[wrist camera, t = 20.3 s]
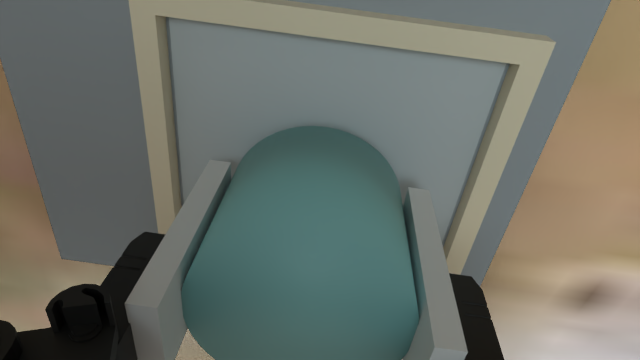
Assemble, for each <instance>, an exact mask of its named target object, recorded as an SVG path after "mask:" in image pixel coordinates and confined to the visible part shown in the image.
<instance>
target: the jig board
mask: <svg viewBox="0 0 640 360" xmlns="http://www.w3.org/2000/svg"><path fill="white" fill-rule="evenodd" d="M610 1H611V0H0V59H1V62H2V65H3V69H4V72H5V75H6V78H7V82H8V85H9V88H10V92H11V95H12V98H13V101H14V105H15V108H16V111H17V114H18V118H19V121H20V124H21V128H22V131H23V134H24V137H25V141H26V144H27V147H28V151H29V154H30V157H31V160H32V164H33V167H34V170H35V174H36V177H37V180H38V183H39V187H40V190H41V193H42V196H43V200H44V203H45V206H46V210H47V213H48V216H49V219H50V223H51V226H52V229H53V233H54V236H55V239H56V242H57V246H58V249H59V252H60V256H61V259H67V260H74V261H81V262H88V263H95V264H103V265H110V266H115V264H116V262H117V261H118V259H119V258H120V257H121V256H122V253H123V252H124V251H125V249H126V248H127V246H128V245H129V243H130V242H131V241H132V240H134V239H135V238H136V237H138V236H139V235H141V234H142V233H143V232H152V233H159V234H166V233H167V231H168V229H169V228H170V226H171V224H172V223H173V221H174V219H175V218H176V216H177V214H178V213H179V211H180V209H181V208H182V206H183V204H184V203H185V201H186V199H187V197H188V196H189V194H190V192H191V191H192V189H193V187H194V186H195V184H196V182H197V181H198V179H199V177H200V176H201V174H202V172H203V171H204V169H205V167H206V166H207V164H208V162H209V160H217V161H224V162H231V180H232V177H233V175H234V173H235V171H236V169H237V167H238V165H239V163H240V162H241V160H242V158H243V157H244V156H245V154H246V153H247V152H248V151H249V150H250V149H251V148H252V147H253V146H254V145H256V144H257V143H258V142H259V141H261V140H263V139H264V138H266V137H267V136H270V135H272V134H274V133H276V132H279V131H282V130H285V129H289V128H295V127H300V126H321V127H329V128H334V129H339V130H342V131H345V132H348V133H350V134H353V135H355V136H357V137H359V138H361V139H362V140H364V141H366V142H367V143H369V144H370V145H372V146H373V147H374V148H375V149H376V150H378V151H379V152H380V153H381V154H382V155H383V157H384V158H385V159H386V160H387V161H388V163H389V164H390V166H391V167H392V169H393V171H394V173H395V175H396V177H397V179H398V183H399V186H400V192H401V198H402V205H403V204H404V201H405V197H406V193H407V190H408V187H411V188H418V189H425V190H429V191H430V195H431V199H432V203H433V207H434V212H435V216H436V220H437V224H438V229H439V233H440V237H441V241H442V245H443V250H444V254H445V258H446V262H447V266H448V271H449V273H451V274H458V275H465V276H472V278H473V279H474V280H475V281H476V283H477V284H478V285H479V287H480V285H481V283H482V281H483V279H484V277H485V274H486V272H487V270H488V268H489V266H490V263H491V261H492V259H493V257H494V255H495V253H496V250H497V248H498V246H499V244H500V242H501V239H502V237H503V235H504V233H505V231H506V228H507V226H508V224H509V222H510V220H511V218H512V215H513V213H514V211H515V209H516V207H517V204H518V202H519V200H520V198H521V196H522V194H523V191H524V189H525V187H526V185H527V183H528V180H529V178H530V176H531V174H532V172H533V170H534V167H535V165H536V163H537V161H538V159H539V156H540V154H541V152H542V150H543V148H544V146H545V143H546V141H547V139H548V137H549V135H550V132H551V130H552V128H553V126H554V124H555V122H556V119H557V117H558V115H559V113H560V111H561V108H562V106H563V104H564V102H565V100H566V98H567V95H568V93H569V91H570V89H571V87H572V84H573V82H574V80H575V78H576V76H577V73H578V71H579V69H580V67H581V65H582V63H583V60H584V58H585V56H586V54H587V52H588V49H589V47H590V45H591V43H592V41H593V39H594V36H595V34H596V32H597V30H598V28H599V25H600V23H601V21H602V19H603V17H604V15H605V12H606V10H607V8H608V6H609V4H610Z"/></svg>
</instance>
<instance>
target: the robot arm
mask: <svg viewBox="0 0 640 360" xmlns="http://www.w3.org/2000/svg"><path fill="white" fill-rule="evenodd" d="M230 182H231V162H224V161H217V160H209V162H208V164H207V166H206V167H205V169H204V171H203V172H202V174H201V176H200V177H199V179H198V181H197V182H196V184H195V186H194V187H193V189H192V191H191V192H190V194H189V196H188V197H187V199H186V201H185V203H184V204H183V206H182V208H181V209H180V211H179V213H178V214H177V216H176V218H175V219H174V221H173V223H172V224H171V226H170V228H169V229H168V231H167V233H166V234H159V233H152V232H143V233H142V234H141V235H139V236H138V237H136V238H135V239H134V240H132V241H131V242H130V243H129V245H128V246H127V248H126V249H125V251H124V252H123V253H122V256H121V257H120V258H119V259H118V261H117V262H116V264H115V266H114V268H112V270H111V271H110V272H109V274H108V275H107V277H106V278H105V280H104V281H103V283H102V284H101V286H98V285H96V284H82V285H77V286H73V287H70V288H68V289H66V290H64V291H62V292H60V293H59V294H58V295H56V296H55V297H54V298H53V299H52V300H51V301H50V302H49V304H48V306H47V307H46V309H45V310H46V313H47V316H48V318H49V321H50V324H51V327H50V328H45V329H38V330H30V331H23V332H16V329H15V328H14V327H13V326H12V325H11V324H10V323H9V322H6V321H2V320H0V360H175V358H176V355H177V353H178V350H179V348H180V345H181V343H182V340H183V338H184V336H185V333H186V331H187V328H188V327H187V325H186V323H185V320H184V317H183V310H182V299H181V291H182V286H183V283H184V280H185V278H186V276H187V273H188V271H189V269H190V267H191V265H192V263H193V261H194V258H195V256H196V254H197V252H198V250H199V248H200V246H201V243H202V241H203V239H204V237H205V235H206V233H207V231H208V229H209V226H210V224H211V222H212V220H213V218H214V216H215V214H216V211H217V209H218V207H219V205H220V203H221V201H222V199H223V197H224V194H225V192H226V190H227V188H228V186H229V184H230ZM403 212H404V218H405V225H406V232H407V239H408V245H409V252H410V259H411V265H412V272H413V279H414V285H415V292H416V299H417V306H418V313H419V324H418V326H417V329H416V332H415V335H414V337H413V340H412V343H411V346H410V348H409V351H408V352H407V354H406V355H405V356H404V357H403V360H504V358H503V354H502V351H501V348H500V345H499V342H498V338H497V335H496V332H495V329H494V326H493V322H492V320H491V319H490V318H491V316H490V313H489V310H488V308H487V303H486V300H485V297H484V294H483V291H482V289H481V288H480V287H479V285H478V284H477V283H476V281H475V280H474V279H473V278H472V276H465V275H458V274H451V273H449V271H448V266H447V262H446V258H445V254H444V250H443V245H442V241H441V237H440V233H439V229H438V224H437V220H436V216H435V212H434V207H433V203H432V199H431V195H430V191H429V190H425V189H418V188H411V187H408V190H407V193H406V197H405V201H404V204H403Z"/></svg>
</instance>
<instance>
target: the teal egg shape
mask: <svg viewBox="0 0 640 360" xmlns="http://www.w3.org/2000/svg"><path fill="white" fill-rule="evenodd" d="M181 299H182V310H183V317H184V320H185V323H186V325H187V327H188V329H189V331H190V333H191V334H192V336H193V337H194V339H195V340H196V341H197V342H198V344H199V345H200V346H201V347H202V348H203V349H204V350H205V351H206V352H207V353H208V354H209V355H210V356H212V357H213V358H214V359H215V360H401V359H402V358H403V357H404V356H405V355H406V354H407V352H408V351H409V348H410V346H411V343H412V340H413V337H414V335H415V332H416V329H417V326H418V324H419V313H418V306H417V299H416V292H415V285H414V279H413V272H412V265H411V259H410V252H409V245H408V239H407V232H406V225H405V218H404V212H403V205H402V198H401V192H400V186H399V183H398V179H397V177H396V175H395V173H394V171H393V169H392V167H391V166H390V164H389V163H388V161H387V160H386V159H385V158H384V157H383V155H382V154H381V153H380V152H379V151H378V150H376V149H375V148H374V147H373V146H372V145H370V144H369V143H367V142H366V141H364V140H362V139H361V138H359V137H357V136H355V135H353V134H350V133H348V132H345V131H342V130H339V129H334V128H329V127H321V126H300V127H295V128H289V129H285V130H282V131H279V132H276V133H274V134H272V135H270V136H267V137H266V138H264V139H263V140H261V141H259V142H258V143H257V144H256V145H254V146H253V147H252V148H251V149H250V150H249V151H248V152H247V153H246V154H245V156H244V157H243V158H242V160H241V162H240V163H239V165H238V167H237V169H236V171H235V173H234V175H233V177H232V180H231V182H230V184H229V186H228V188H227V190H226V192H225V194H224V197H223V199H222V201H221V203H220V205H219V207H218V209H217V211H216V214H215V216H214V218H213V220H212V222H211V224H210V226H209V229H208V231H207V233H206V235H205V237H204V239H203V241H202V243H201V246H200V248H199V250H198V252H197V254H196V256H195V258H194V261H193V263H192V265H191V267H190V269H189V271H188V273H187V276H186V278H185V280H184V283H183V286H182V291H181Z"/></svg>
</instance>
